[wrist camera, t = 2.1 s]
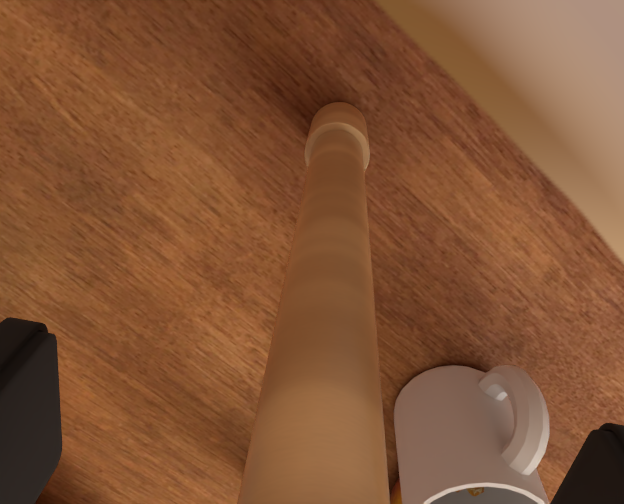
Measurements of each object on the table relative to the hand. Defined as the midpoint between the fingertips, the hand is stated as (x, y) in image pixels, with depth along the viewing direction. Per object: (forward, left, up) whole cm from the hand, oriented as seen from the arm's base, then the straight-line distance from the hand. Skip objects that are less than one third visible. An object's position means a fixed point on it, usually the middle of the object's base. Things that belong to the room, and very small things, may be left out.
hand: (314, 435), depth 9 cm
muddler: (0, 0, -19) cm, 19 cm away
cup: (+14, +11, -20) cm, 26 cm away
